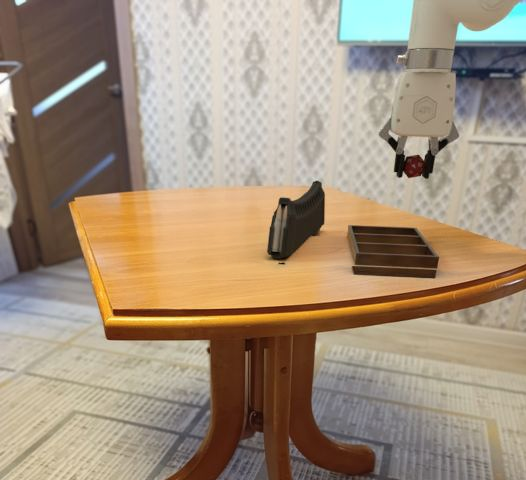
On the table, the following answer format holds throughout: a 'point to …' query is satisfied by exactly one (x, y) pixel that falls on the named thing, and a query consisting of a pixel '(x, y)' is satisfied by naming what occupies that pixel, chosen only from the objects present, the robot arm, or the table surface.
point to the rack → (391, 251)
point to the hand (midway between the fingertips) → (412, 176)
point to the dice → (414, 166)
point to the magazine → (296, 222)
